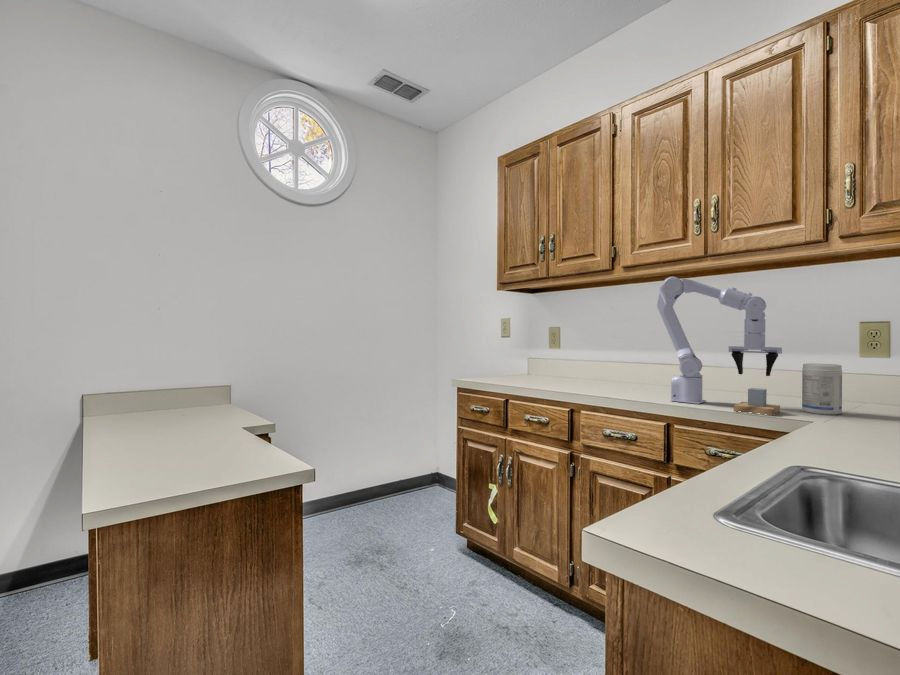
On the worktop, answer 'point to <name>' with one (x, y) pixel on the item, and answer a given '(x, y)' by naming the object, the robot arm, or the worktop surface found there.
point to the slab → (757, 408)
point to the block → (757, 397)
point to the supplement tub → (822, 388)
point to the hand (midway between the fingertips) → (754, 375)
